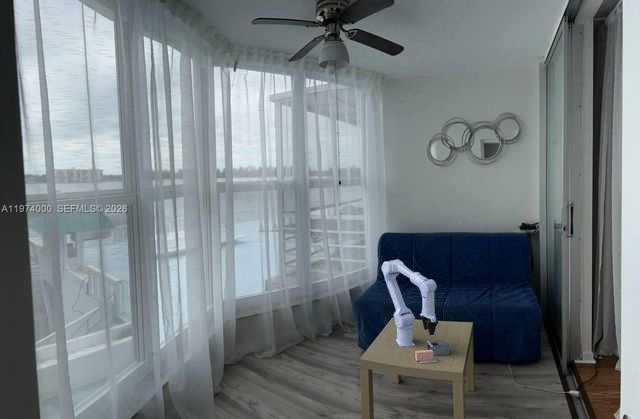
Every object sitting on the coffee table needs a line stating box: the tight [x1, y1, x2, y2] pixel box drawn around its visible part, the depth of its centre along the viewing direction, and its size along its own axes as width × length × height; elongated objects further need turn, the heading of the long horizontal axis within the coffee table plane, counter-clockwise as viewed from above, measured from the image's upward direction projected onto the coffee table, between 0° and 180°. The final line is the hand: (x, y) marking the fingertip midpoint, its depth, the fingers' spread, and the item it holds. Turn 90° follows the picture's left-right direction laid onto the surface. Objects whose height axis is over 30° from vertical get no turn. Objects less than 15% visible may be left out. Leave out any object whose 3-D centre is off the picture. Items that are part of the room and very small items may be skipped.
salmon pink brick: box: [414, 349, 434, 362], centre depth 202 cm, size 2×8×4 cm, turn 95°
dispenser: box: [426, 339, 450, 357], centre depth 209 cm, size 6×9×5 cm, turn 95°
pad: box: [419, 356, 439, 365], centre depth 202 cm, size 7×8×1 cm
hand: (429, 332), depth 210 cm, fingers open, 7 cm apart
